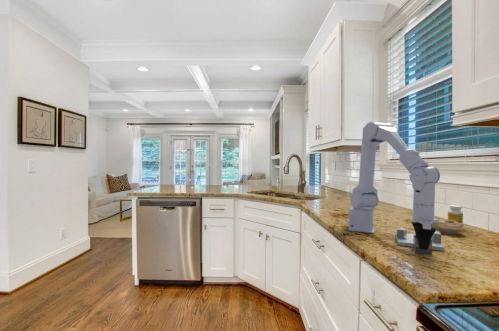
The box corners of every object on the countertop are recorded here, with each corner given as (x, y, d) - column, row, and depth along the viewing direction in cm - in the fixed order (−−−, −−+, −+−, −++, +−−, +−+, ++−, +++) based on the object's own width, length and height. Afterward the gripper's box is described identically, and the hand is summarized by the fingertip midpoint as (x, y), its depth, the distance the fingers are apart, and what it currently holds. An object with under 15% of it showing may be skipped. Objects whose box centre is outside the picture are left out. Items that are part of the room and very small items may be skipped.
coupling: (414, 252, 87) (415, 238, 87) (412, 248, 91) (413, 234, 91) (432, 254, 85) (432, 240, 85) (429, 250, 89) (429, 236, 89)
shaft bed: (398, 245, 94) (398, 232, 94) (395, 235, 106) (395, 223, 106) (444, 251, 88) (444, 237, 88) (435, 239, 101) (435, 227, 101)
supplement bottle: (450, 225, 124) (451, 204, 123) (464, 228, 119) (465, 206, 119) (445, 227, 121) (445, 205, 120) (459, 230, 116) (460, 207, 116)
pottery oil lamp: (423, 227, 117) (429, 213, 118) (455, 241, 112) (462, 226, 113) (427, 224, 110) (434, 209, 111) (462, 239, 104) (469, 222, 105)
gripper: (444, 209, 79) (442, 255, 80) (434, 202, 92) (432, 242, 93) (415, 206, 82) (414, 252, 82) (409, 200, 95) (408, 239, 96)
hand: (422, 246), depth 88 cm, fingers closed on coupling, 5 cm apart
